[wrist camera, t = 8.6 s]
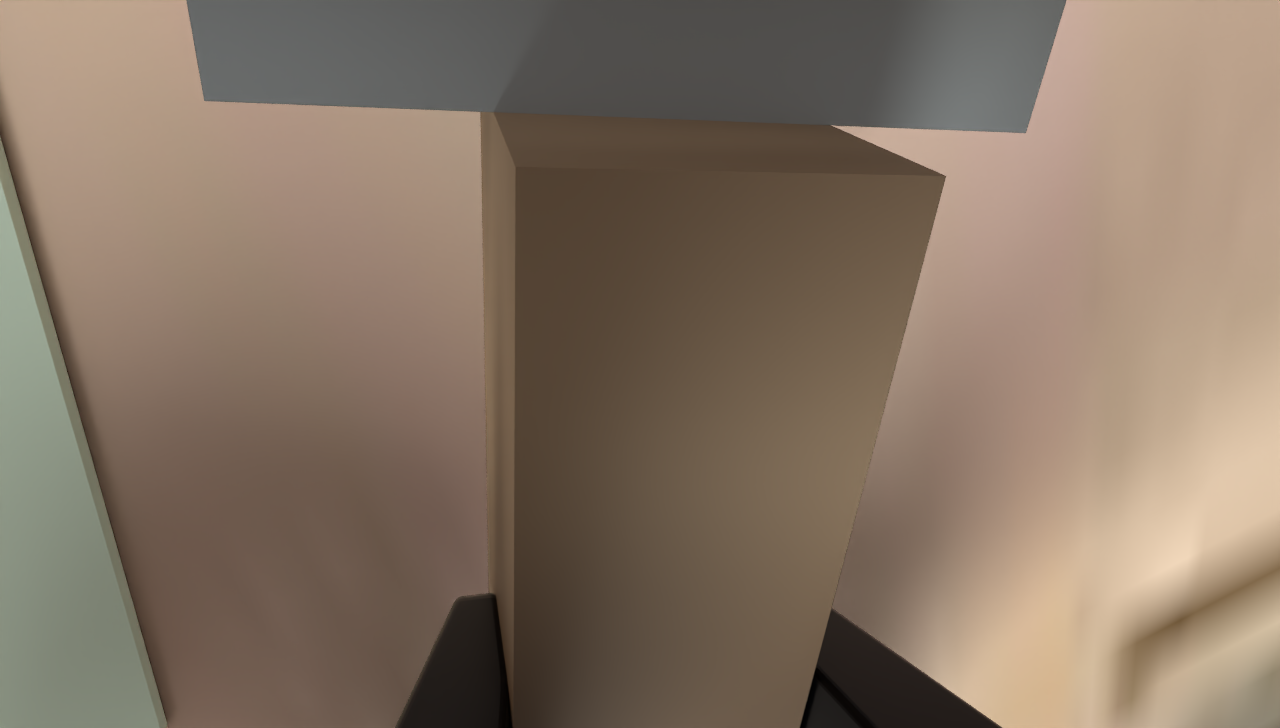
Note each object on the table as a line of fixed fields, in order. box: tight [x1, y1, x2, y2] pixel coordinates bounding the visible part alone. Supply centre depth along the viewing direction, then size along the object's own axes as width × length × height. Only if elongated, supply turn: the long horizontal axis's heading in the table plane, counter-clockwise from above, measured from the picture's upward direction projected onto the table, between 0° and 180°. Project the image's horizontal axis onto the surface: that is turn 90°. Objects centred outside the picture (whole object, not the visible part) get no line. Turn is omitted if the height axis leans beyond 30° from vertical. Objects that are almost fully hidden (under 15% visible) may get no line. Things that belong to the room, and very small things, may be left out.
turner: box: [187, 0, 1066, 728], centre depth 7 cm, size 15×6×3 cm, turn 175°
